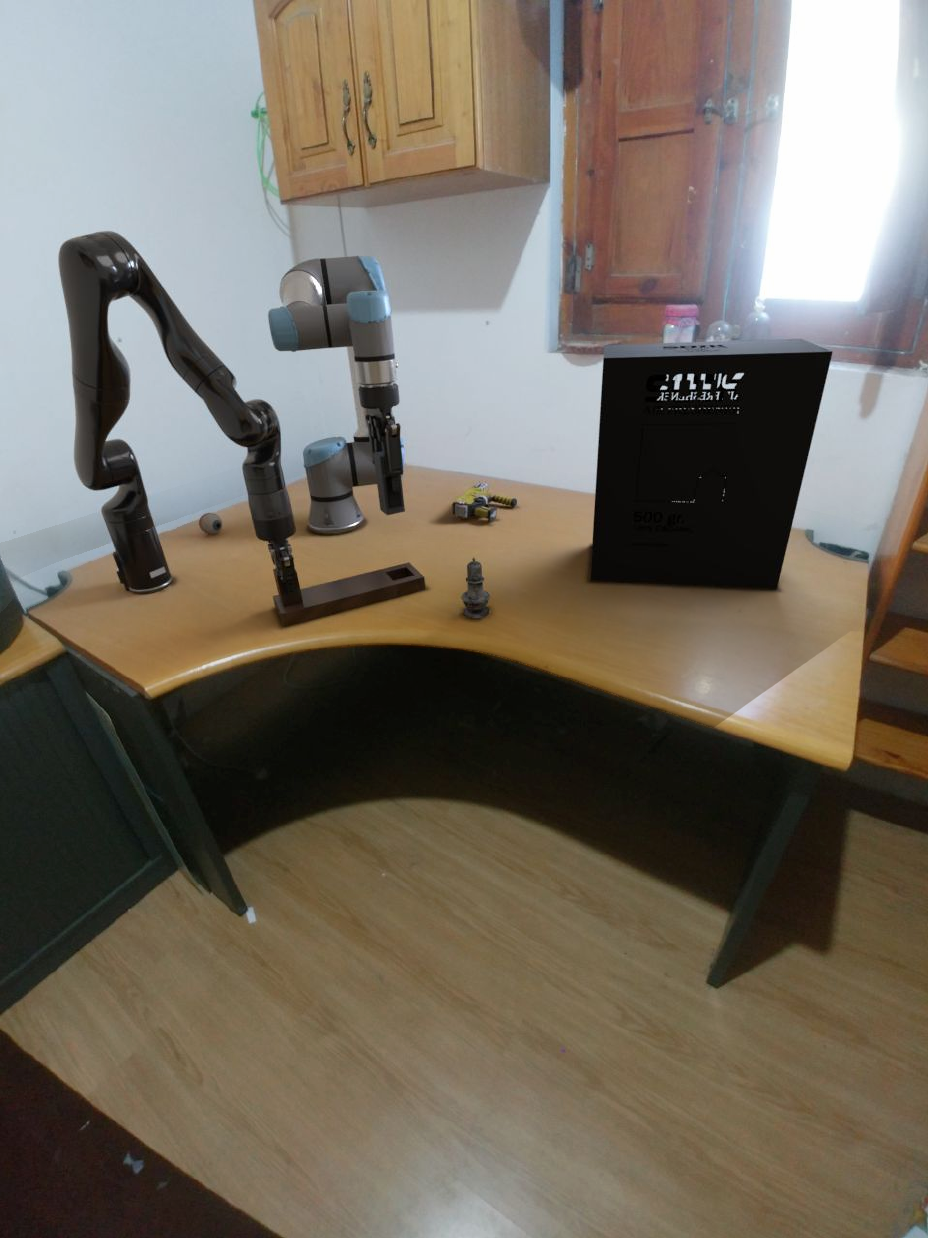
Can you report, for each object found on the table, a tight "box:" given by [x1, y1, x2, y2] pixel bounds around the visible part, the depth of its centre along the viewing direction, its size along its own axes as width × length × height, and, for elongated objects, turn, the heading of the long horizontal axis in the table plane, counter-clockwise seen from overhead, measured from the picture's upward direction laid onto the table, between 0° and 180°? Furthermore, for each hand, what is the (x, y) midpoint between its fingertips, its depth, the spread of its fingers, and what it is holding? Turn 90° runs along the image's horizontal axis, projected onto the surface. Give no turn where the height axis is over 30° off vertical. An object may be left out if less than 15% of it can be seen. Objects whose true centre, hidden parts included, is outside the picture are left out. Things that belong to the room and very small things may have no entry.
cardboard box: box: [589, 338, 834, 590], centre depth 125 cm, size 38×20×45 cm, turn 78°
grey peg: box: [373, 451, 406, 516], centre depth 123 cm, size 4×4×12 cm
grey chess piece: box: [460, 557, 491, 619], centre depth 119 cm, size 6×6×12 cm
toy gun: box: [451, 480, 518, 523], centre depth 174 cm, size 5×24×15 cm
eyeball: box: [198, 512, 223, 536], centre depth 167 cm, size 6×6×6 cm
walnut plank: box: [272, 562, 426, 627], centre depth 128 cm, size 31×9×10 cm, turn 116°
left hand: (289, 591), depth 123 cm, fingers closed on walnut plank, 4 cm apart
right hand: (391, 503), depth 125 cm, fingers closed on grey peg, 4 cm apart
